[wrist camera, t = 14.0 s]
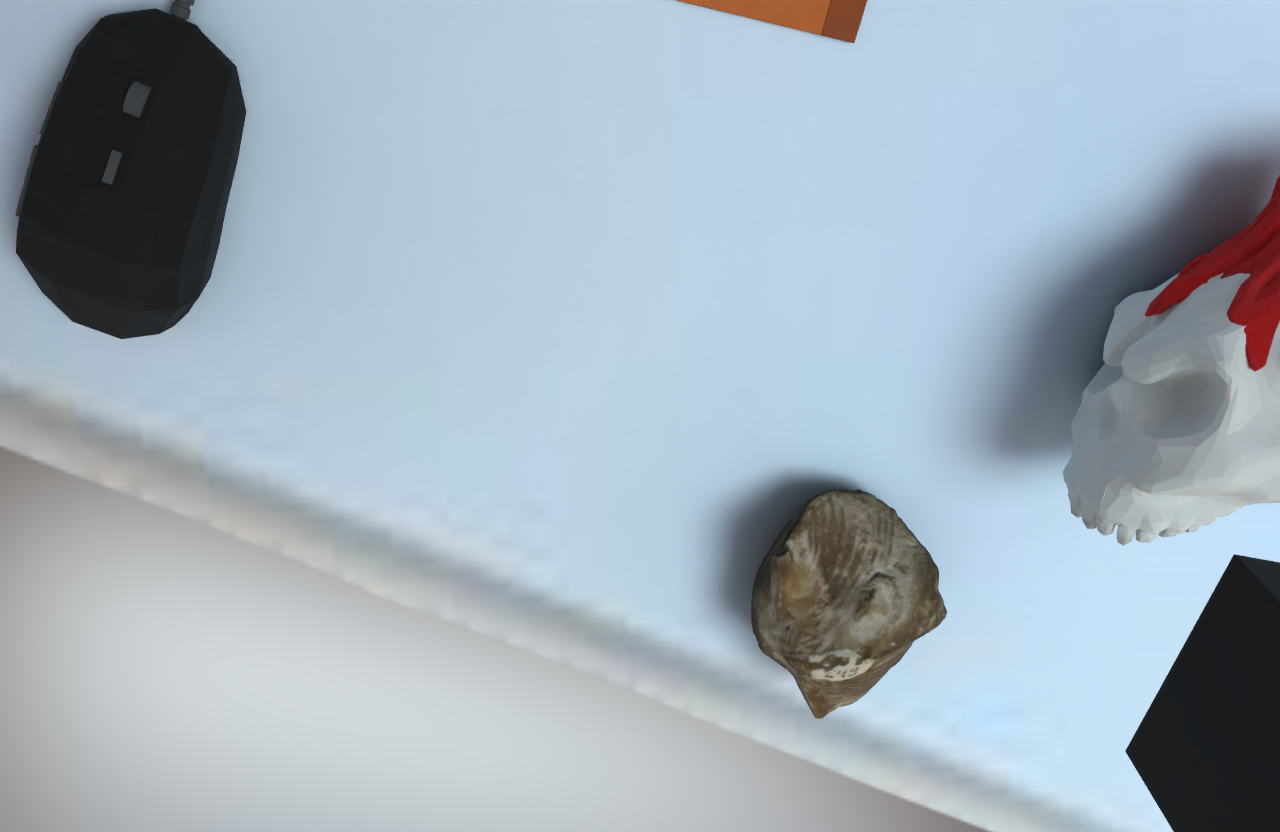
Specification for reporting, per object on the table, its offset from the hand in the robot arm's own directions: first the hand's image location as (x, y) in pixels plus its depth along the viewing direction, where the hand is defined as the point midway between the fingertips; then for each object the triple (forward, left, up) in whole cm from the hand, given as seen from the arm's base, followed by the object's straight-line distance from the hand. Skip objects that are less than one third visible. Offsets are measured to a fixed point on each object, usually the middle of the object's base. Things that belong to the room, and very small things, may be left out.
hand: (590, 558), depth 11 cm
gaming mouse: (-14, -6, -31) cm, 35 cm away
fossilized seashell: (+15, -19, -31) cm, 39 cm away
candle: (+26, -4, -31) cm, 41 cm away
